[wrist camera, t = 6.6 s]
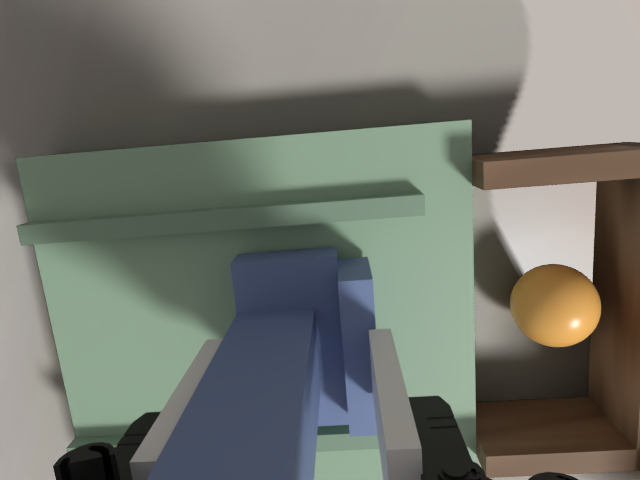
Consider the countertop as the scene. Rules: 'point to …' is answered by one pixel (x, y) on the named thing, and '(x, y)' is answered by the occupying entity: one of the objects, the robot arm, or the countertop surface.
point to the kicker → (280, 371)
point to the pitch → (251, 237)
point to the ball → (555, 305)
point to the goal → (605, 341)
